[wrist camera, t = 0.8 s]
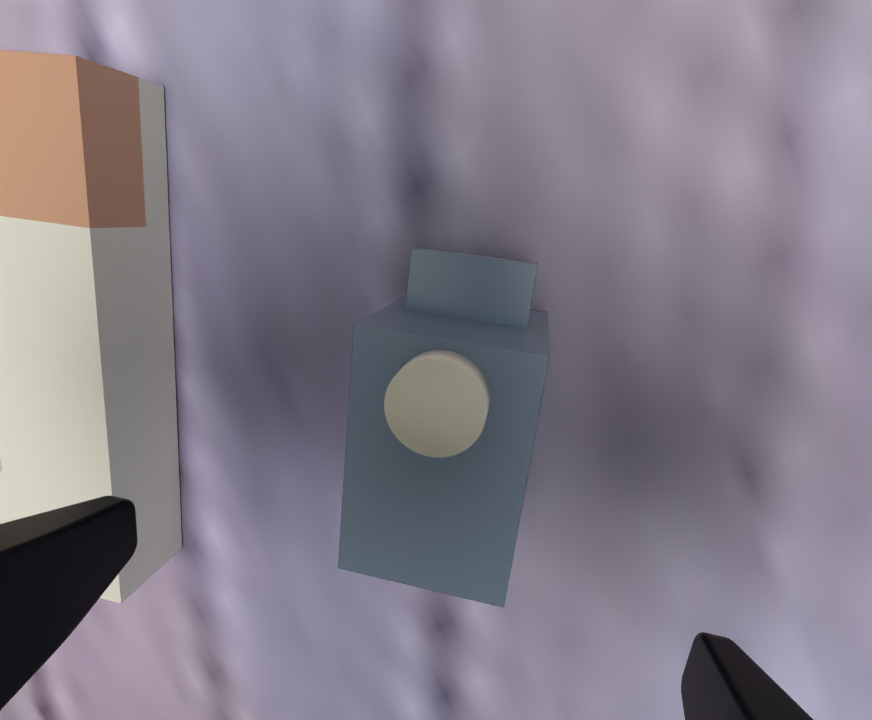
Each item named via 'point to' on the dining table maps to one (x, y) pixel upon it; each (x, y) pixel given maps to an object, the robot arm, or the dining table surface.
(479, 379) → the block
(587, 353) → the dining table surface
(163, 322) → the chassis plate
